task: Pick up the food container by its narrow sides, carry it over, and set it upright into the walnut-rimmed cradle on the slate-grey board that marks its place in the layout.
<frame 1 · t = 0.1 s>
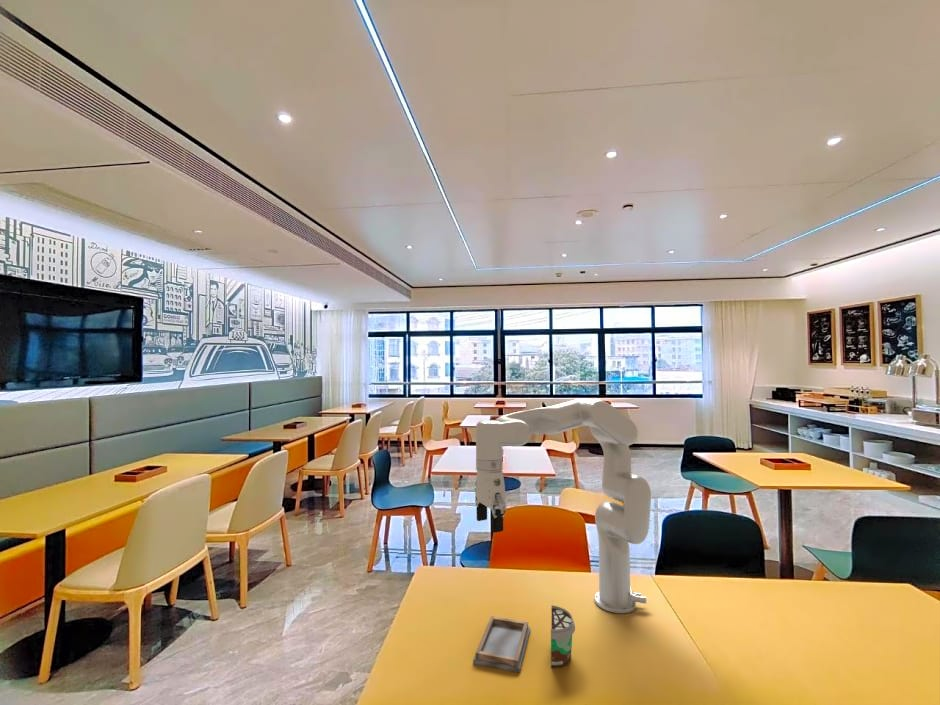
hand: (489, 525, 121), 31 cm above the table, tool pointing down, fingers open, 9 cm apart
food container: (563, 658, 112), on the table
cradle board: (503, 646, 116), on the table
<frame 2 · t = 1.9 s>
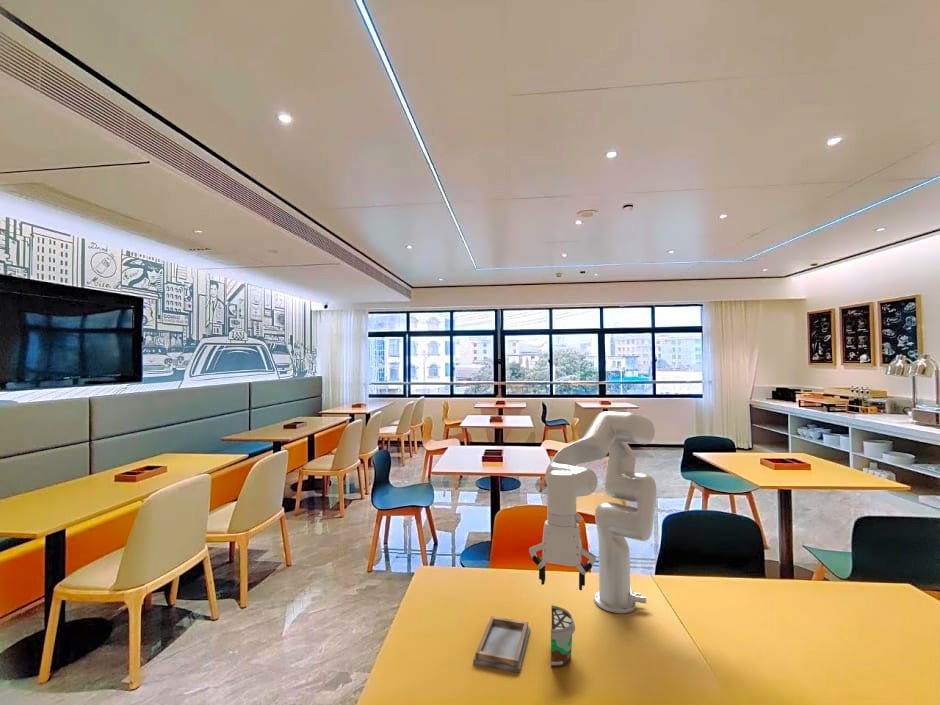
hand: (561, 585, 112), 19 cm above the table, tool pointing down, fingers open, 9 cm apart
nothing on the table moved.
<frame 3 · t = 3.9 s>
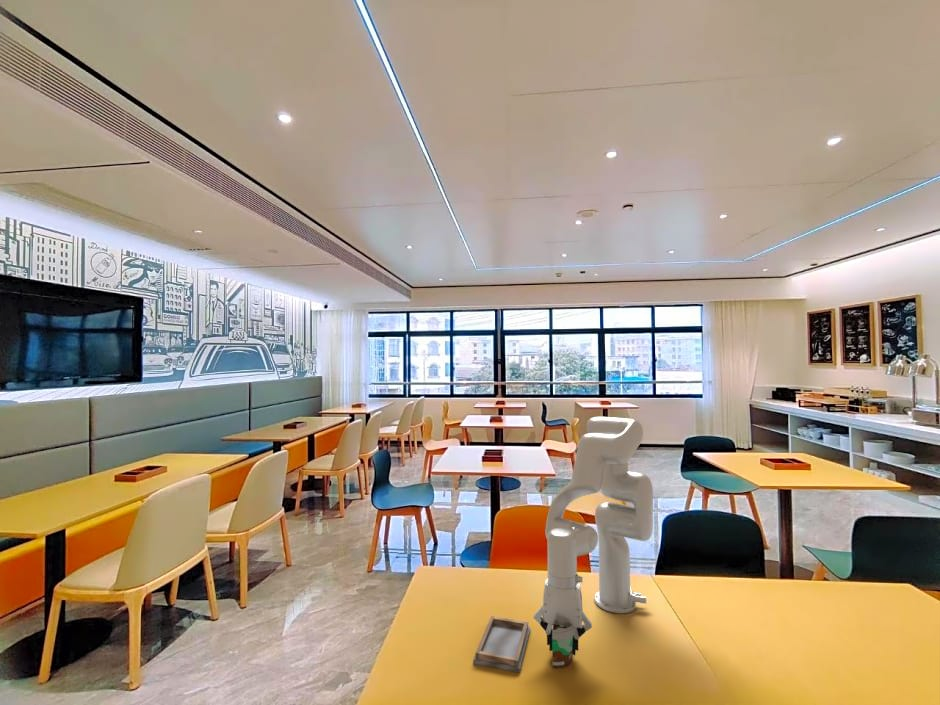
hand: (562, 649, 112), 2 cm above the table, tool pointing down, fingers closed on food container, 5 cm apart
food container: (565, 658, 111), on the table, touching gripper
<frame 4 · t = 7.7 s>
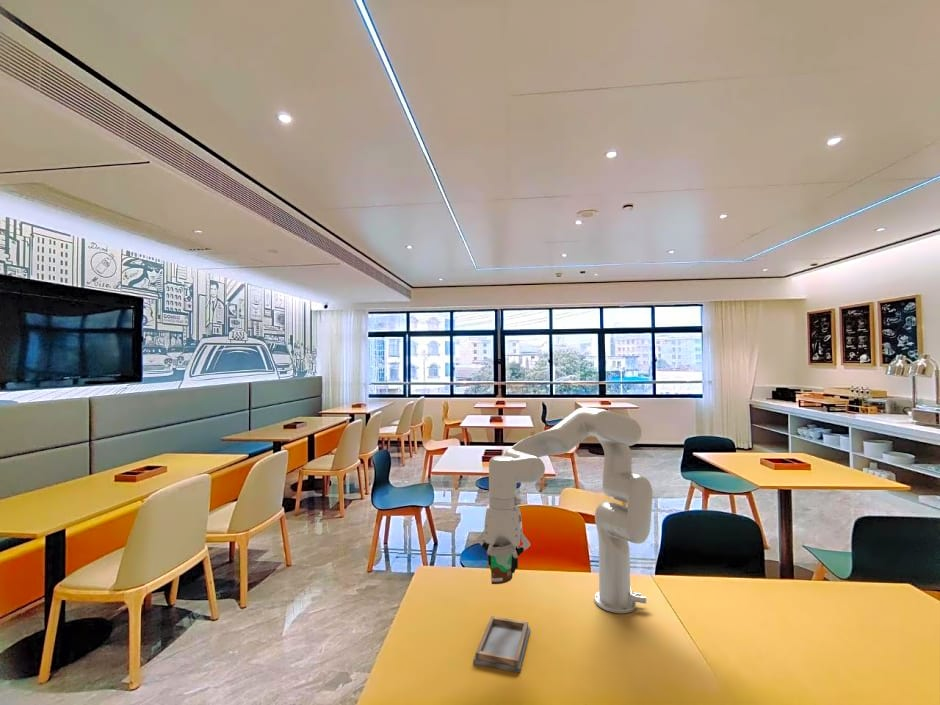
hand: (503, 568, 117), 21 cm above the table, tool pointing down, fingers closed on food container, 5 cm apart
food container: (505, 577, 117), point 18 cm above the table, touching gripper
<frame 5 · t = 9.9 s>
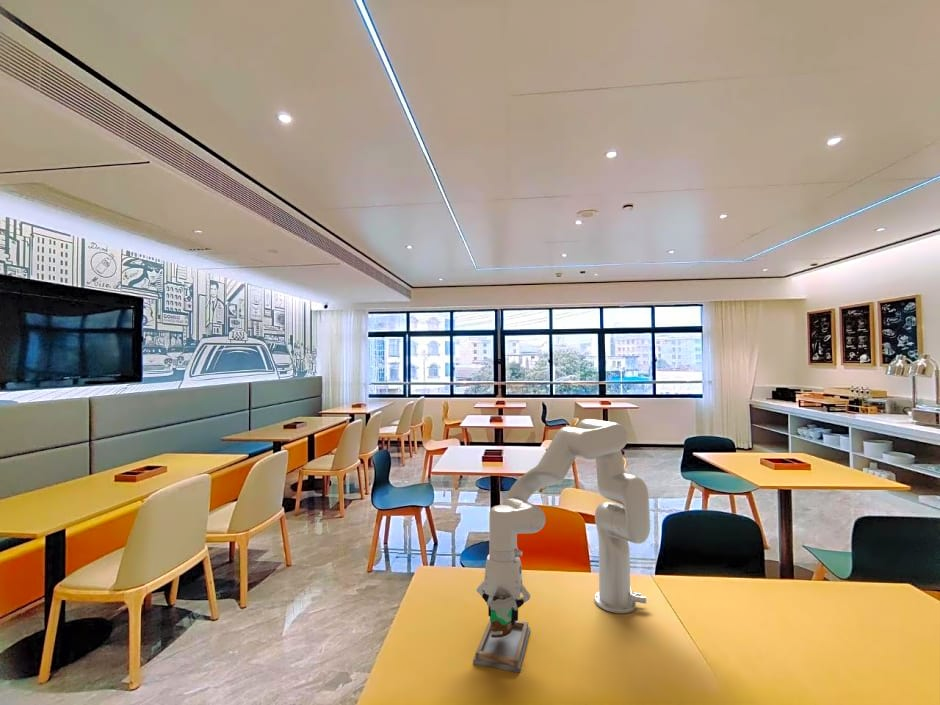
hand: (503, 620, 117), 7 cm above the table, tool pointing down, fingers closed on food container, 5 cm apart
food container: (505, 629, 116), point 5 cm above the table, touching gripper
when the fingers open (4 cm above the table, at t = 11.4 s): food container drops 1 cm, resting on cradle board.
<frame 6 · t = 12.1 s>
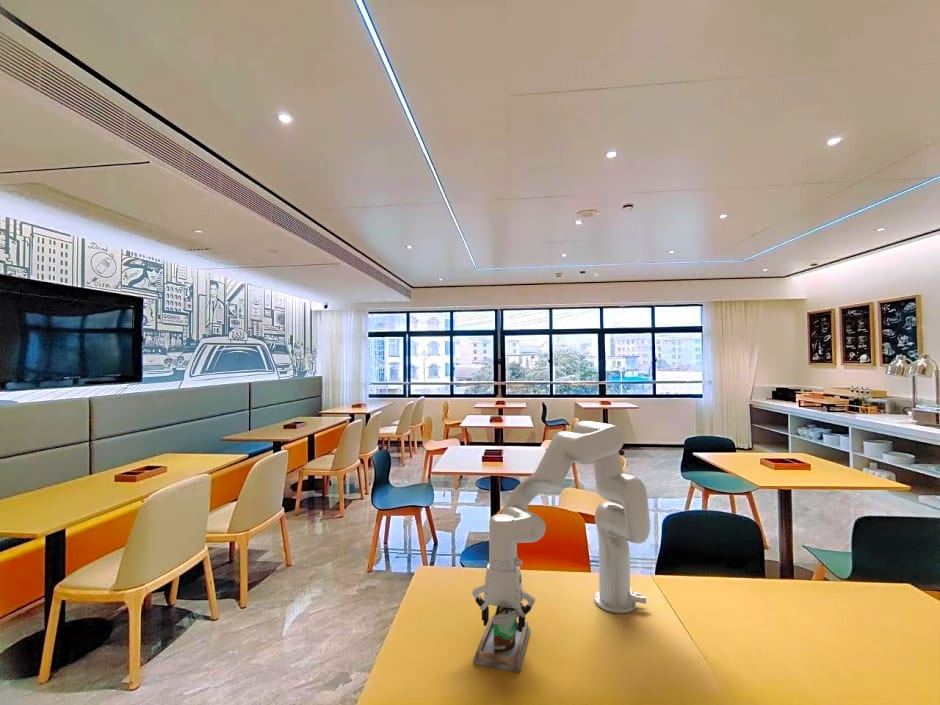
hand: (503, 626, 116), 5 cm above the table, tool pointing down, fingers open, 9 cm apart
food container: (508, 643, 116), point 1 cm above the table, touching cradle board
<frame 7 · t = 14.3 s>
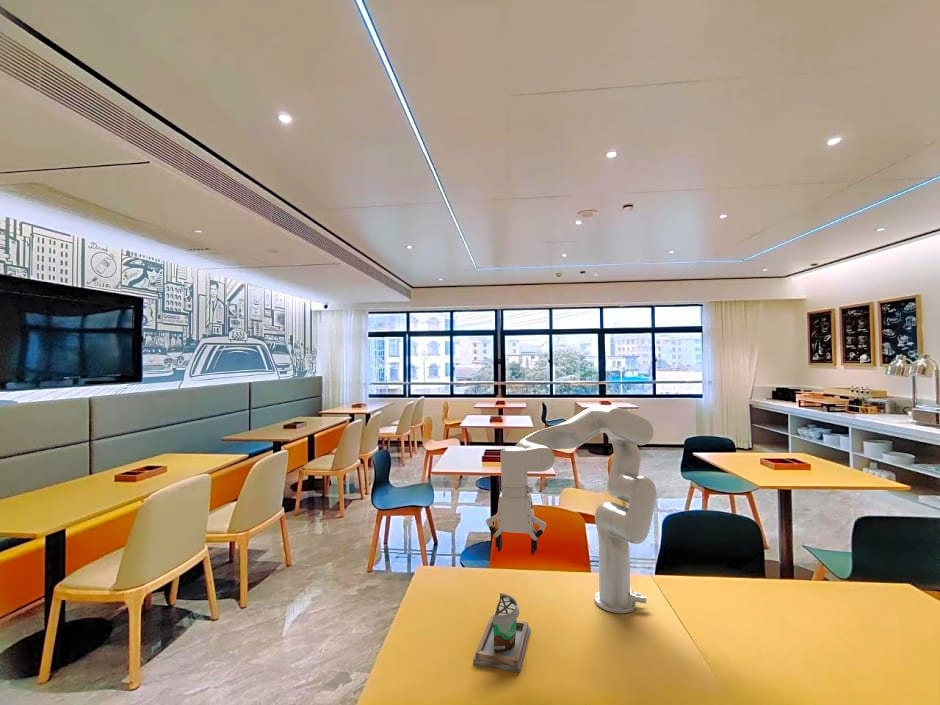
hand: (516, 551, 122), 23 cm above the table, tool pointing down, fingers open, 9 cm apart
nothing on the table moved.
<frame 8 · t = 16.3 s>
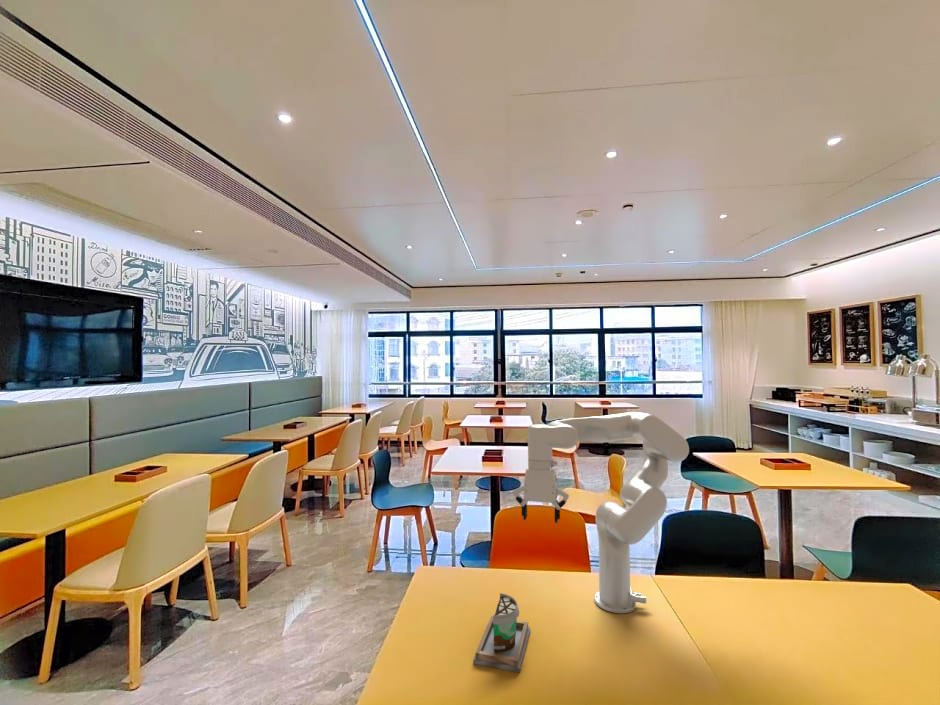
hand: (540, 519, 133), 28 cm above the table, tool pointing down, fingers open, 9 cm apart
nothing on the table moved.
at the end: food container 1.2 cm off-centre on the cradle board, point 0.8 cm above the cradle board's base; food container tilted 0°; the gripper is holding nothing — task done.
